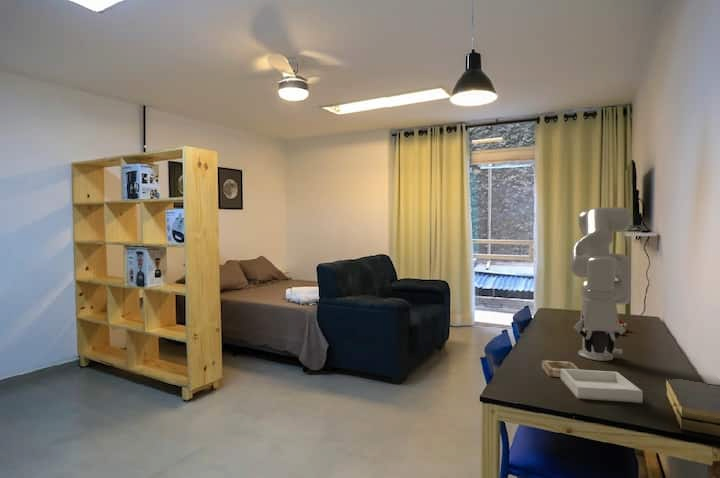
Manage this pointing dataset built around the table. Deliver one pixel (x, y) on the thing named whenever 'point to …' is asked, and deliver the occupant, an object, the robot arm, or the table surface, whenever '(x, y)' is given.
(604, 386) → the tray
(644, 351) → the table surface
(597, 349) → the light bulb
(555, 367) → the beige flat square frame
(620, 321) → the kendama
